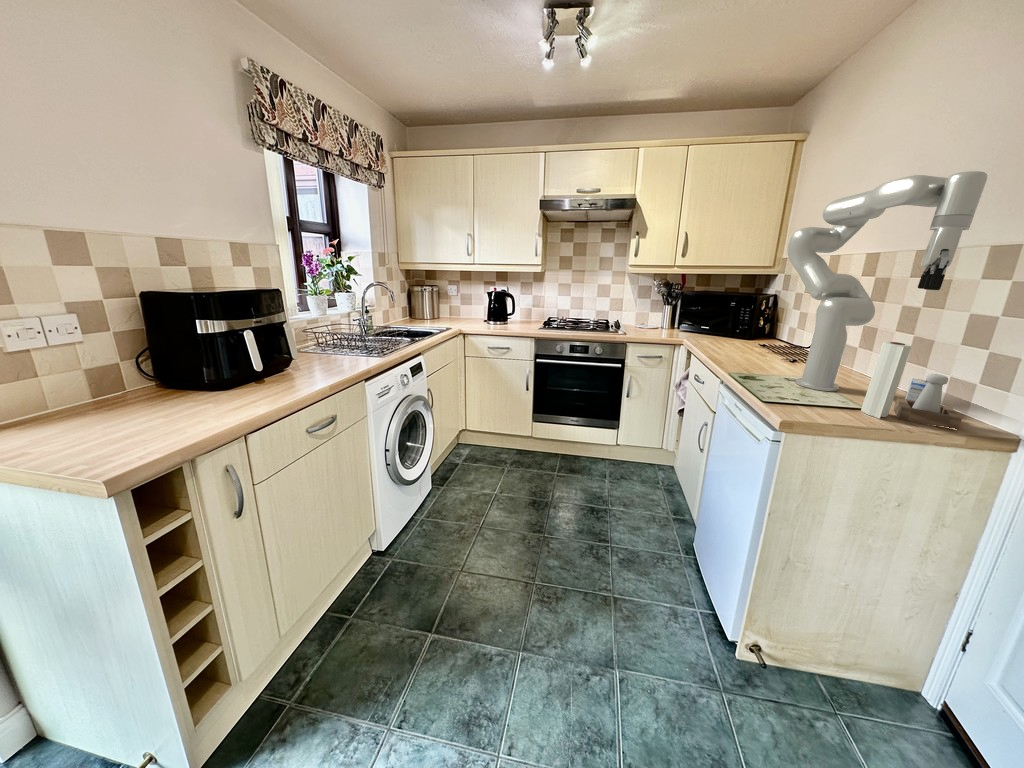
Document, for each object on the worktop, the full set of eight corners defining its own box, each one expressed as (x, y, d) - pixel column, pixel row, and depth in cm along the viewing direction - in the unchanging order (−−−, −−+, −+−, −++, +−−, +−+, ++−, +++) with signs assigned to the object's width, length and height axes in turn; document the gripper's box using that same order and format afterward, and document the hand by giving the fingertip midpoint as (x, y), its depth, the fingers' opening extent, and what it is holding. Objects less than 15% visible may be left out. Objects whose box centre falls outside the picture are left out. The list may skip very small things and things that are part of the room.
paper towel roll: (866, 409, 124) (889, 340, 118) (891, 416, 119) (916, 344, 113) (854, 412, 121) (877, 341, 115) (879, 419, 116) (904, 346, 110)
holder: (893, 408, 126) (897, 397, 125) (947, 418, 119) (951, 407, 118) (898, 419, 117) (902, 407, 116) (957, 430, 110) (962, 418, 109)
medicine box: (903, 403, 132) (912, 377, 130) (922, 407, 129) (931, 381, 127) (901, 408, 127) (911, 382, 124) (921, 412, 124) (931, 385, 121)
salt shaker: (942, 422, 115) (959, 378, 111) (919, 420, 116) (935, 376, 112) (926, 415, 121) (942, 373, 117) (904, 413, 122) (919, 371, 118)
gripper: (925, 226, 117) (905, 287, 122) (937, 220, 104) (914, 289, 109) (962, 226, 113) (940, 289, 118) (980, 220, 100) (954, 291, 105)
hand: (927, 289), depth 114 cm, fingers open, 9 cm apart
